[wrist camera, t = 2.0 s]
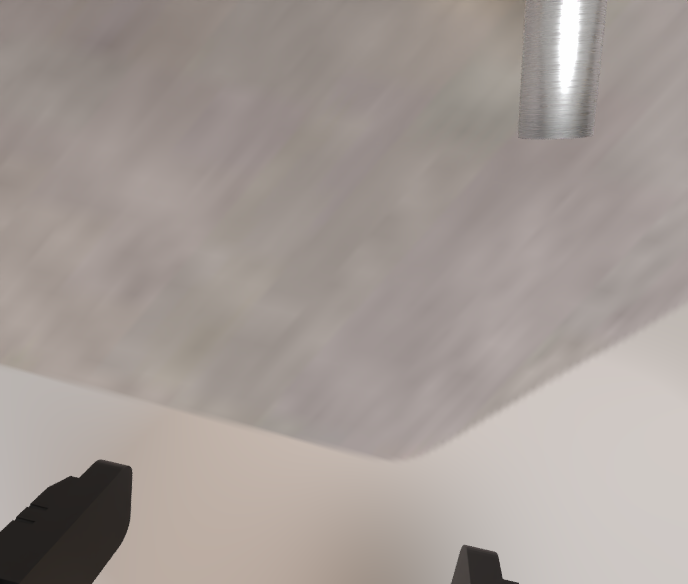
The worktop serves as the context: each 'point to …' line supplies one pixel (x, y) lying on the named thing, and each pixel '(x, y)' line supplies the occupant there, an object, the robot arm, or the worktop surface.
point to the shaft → (560, 68)
